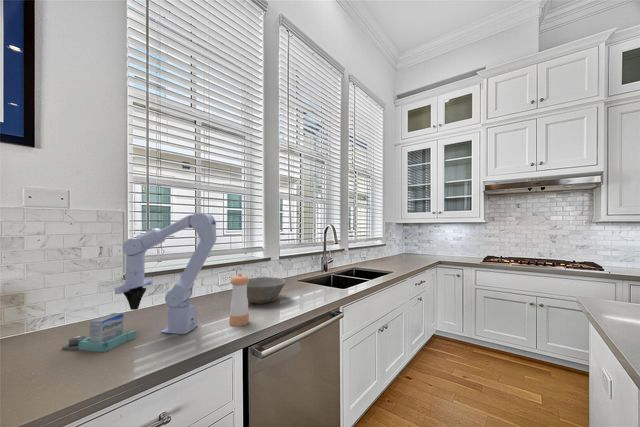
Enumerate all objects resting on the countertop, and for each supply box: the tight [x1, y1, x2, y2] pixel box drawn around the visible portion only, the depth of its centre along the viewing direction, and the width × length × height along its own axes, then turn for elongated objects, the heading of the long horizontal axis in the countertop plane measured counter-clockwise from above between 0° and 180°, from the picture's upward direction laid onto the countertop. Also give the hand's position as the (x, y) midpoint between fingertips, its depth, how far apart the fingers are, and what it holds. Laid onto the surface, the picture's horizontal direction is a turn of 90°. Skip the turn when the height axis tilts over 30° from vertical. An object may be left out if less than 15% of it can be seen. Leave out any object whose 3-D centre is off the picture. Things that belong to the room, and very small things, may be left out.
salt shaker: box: [229, 273, 250, 327], centre depth 107 cm, size 7×7×19 cm
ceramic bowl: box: [247, 276, 287, 305], centre depth 135 cm, size 22×23×10 cm
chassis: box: [62, 329, 137, 353], centre depth 88 cm, size 16×11×3 cm
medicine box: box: [88, 312, 124, 342], centre depth 87 cm, size 8×4×9 cm, turn 170°
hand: (134, 309), depth 98 cm, fingers closed
